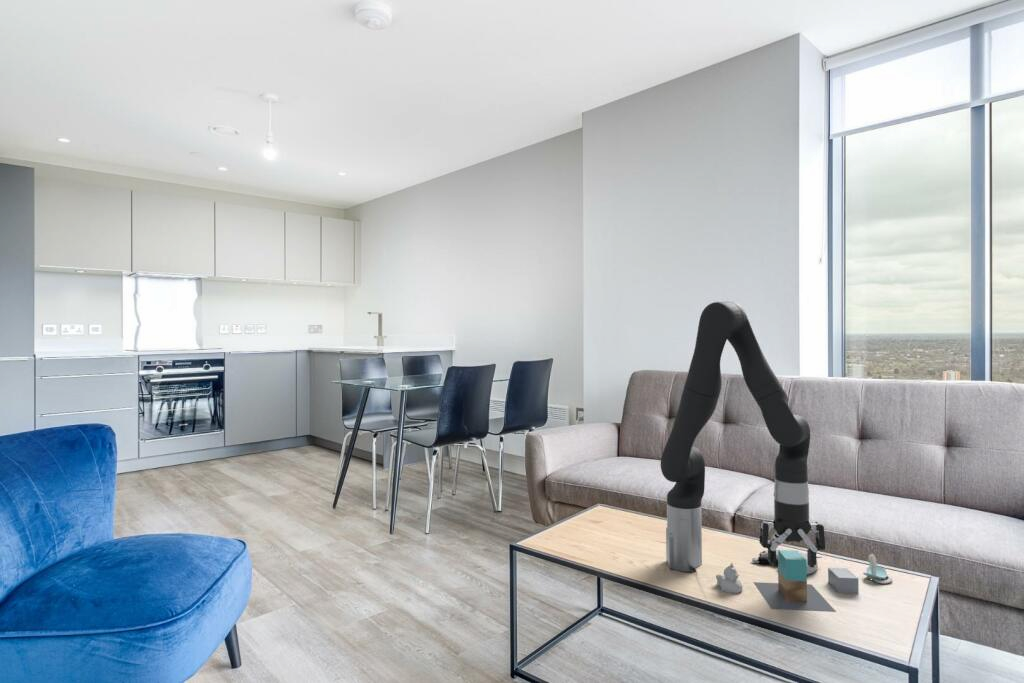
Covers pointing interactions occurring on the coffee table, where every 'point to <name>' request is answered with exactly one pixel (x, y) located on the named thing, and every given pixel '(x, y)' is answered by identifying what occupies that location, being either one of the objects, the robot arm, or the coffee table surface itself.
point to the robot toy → (764, 560)
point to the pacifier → (876, 571)
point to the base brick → (792, 589)
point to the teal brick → (792, 565)
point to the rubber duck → (729, 580)
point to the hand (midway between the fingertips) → (792, 565)
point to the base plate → (779, 602)
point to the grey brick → (843, 580)
